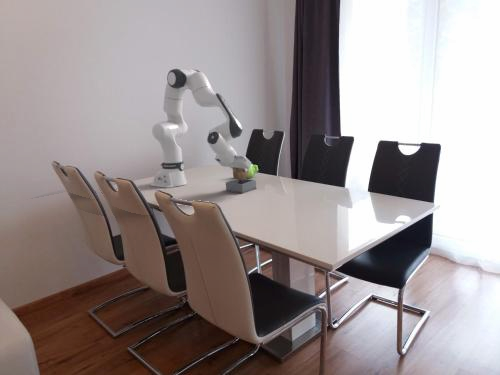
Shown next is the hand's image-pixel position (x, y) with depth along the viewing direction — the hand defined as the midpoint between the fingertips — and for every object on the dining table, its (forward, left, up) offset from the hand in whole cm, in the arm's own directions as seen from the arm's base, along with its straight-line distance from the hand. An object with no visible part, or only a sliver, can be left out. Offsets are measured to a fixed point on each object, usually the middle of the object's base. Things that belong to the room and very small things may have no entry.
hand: (241, 170), depth 229 cm
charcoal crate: (0, -1, -11) cm, 11 cm away
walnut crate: (0, -1, -5) cm, 5 cm away
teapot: (-7, +30, -12) cm, 33 cm away
